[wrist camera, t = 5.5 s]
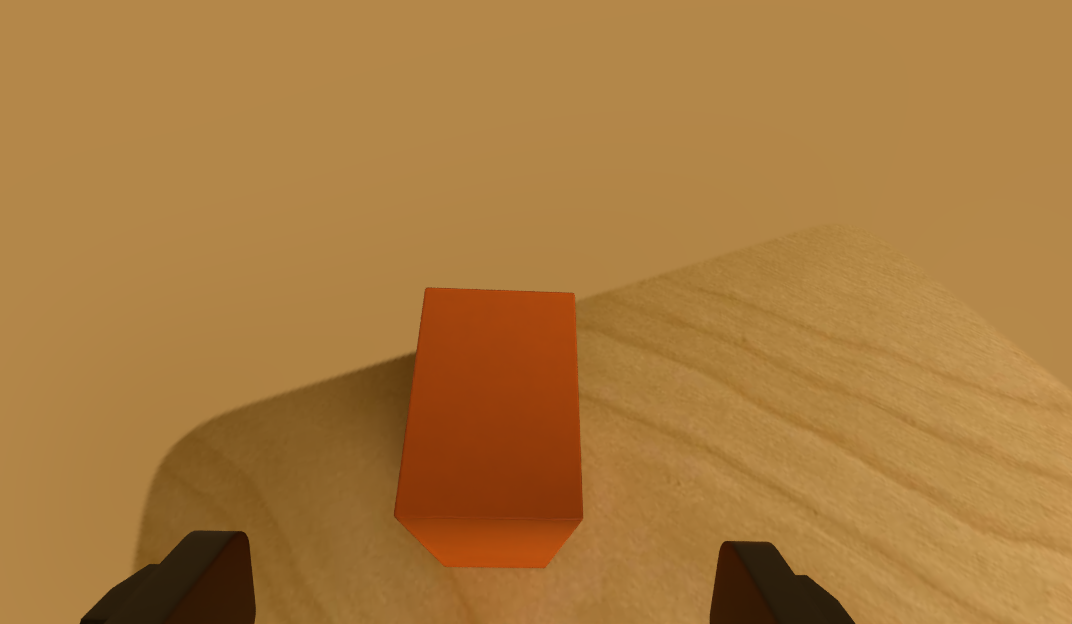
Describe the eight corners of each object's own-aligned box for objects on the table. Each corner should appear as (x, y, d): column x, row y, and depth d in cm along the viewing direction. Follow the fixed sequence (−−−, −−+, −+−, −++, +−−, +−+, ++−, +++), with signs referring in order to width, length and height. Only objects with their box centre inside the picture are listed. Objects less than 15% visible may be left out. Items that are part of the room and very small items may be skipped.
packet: (443, 566, 18) (392, 517, 10) (456, 423, 21) (424, 286, 12) (545, 568, 18) (583, 520, 10) (545, 426, 21) (575, 292, 13)
